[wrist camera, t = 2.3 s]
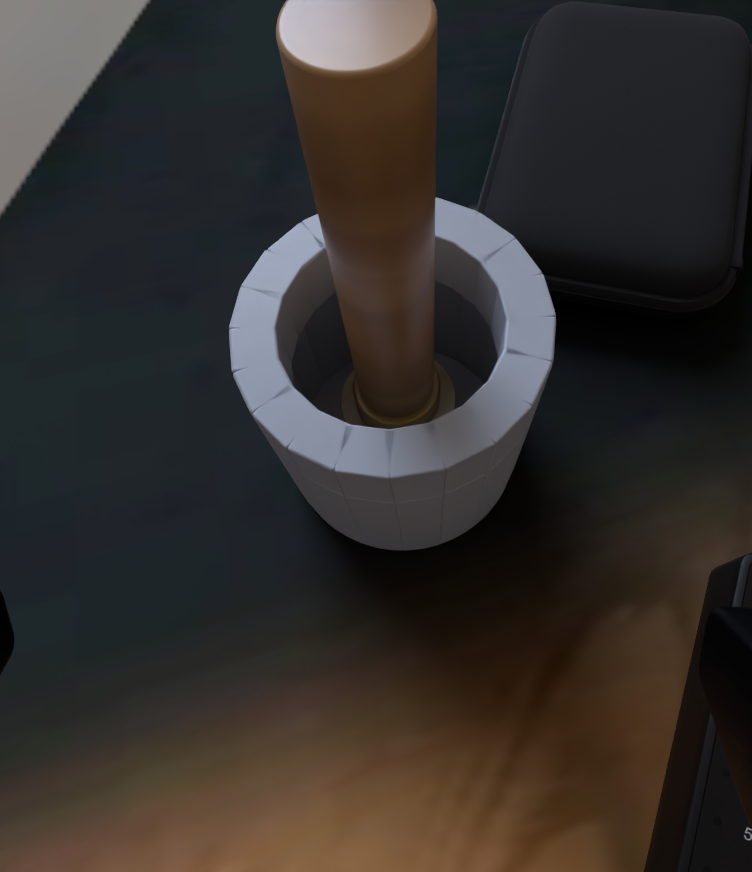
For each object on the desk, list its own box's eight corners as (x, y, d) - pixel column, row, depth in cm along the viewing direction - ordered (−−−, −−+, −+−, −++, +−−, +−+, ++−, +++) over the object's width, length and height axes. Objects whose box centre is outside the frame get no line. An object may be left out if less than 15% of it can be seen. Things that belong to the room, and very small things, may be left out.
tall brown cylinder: (462, 473, 22) (520, 85, 8) (358, 491, 22) (232, 138, 8) (442, 381, 23) (460, -89, 9) (345, 398, 23) (216, -43, 9)
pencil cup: (538, 529, 21) (596, 443, 14) (305, 569, 21) (240, 504, 14) (487, 328, 24) (512, 170, 17) (283, 364, 24) (220, 222, 17)
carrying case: (743, 354, 23) (767, 71, 28) (786, 307, 20) (804, 2, 25) (457, 300, 25) (527, 44, 30) (460, 250, 22) (537, -24, 27)
